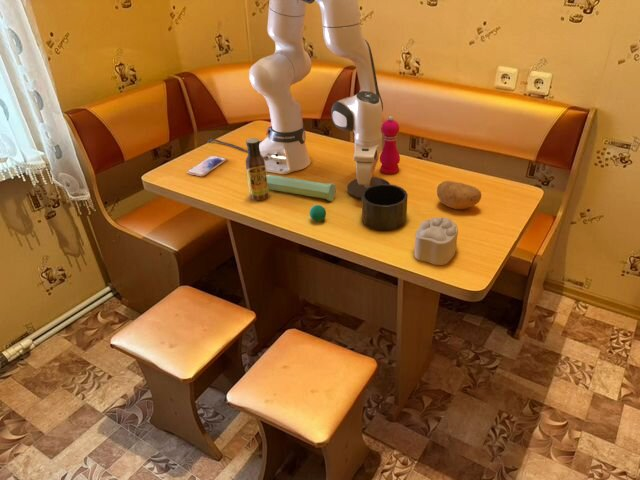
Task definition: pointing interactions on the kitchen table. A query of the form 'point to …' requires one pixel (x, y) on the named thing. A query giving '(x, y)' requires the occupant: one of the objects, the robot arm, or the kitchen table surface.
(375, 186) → the pot
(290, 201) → the kitchen table surface
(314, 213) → the ball
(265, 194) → the sauce bottle
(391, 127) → the pepper mill
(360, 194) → the pot lid
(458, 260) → the kitchen table surface
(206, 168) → the smartphone
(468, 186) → the potato
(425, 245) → the lumpy-topped squat cylinder
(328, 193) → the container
